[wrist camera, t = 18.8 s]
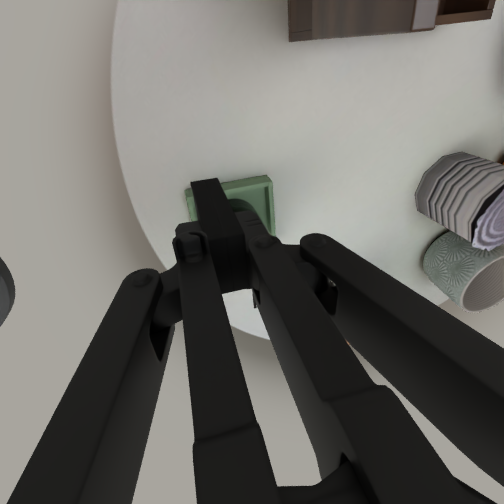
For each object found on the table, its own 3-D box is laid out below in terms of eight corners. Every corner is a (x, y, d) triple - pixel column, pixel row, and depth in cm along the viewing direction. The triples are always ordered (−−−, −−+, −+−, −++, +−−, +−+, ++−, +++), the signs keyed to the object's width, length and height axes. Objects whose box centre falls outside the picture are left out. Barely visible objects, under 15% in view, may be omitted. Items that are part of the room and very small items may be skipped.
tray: (200, 259, 46) (202, 269, 44) (184, 190, 40) (186, 197, 38) (271, 243, 48) (276, 252, 46) (266, 174, 41) (272, 181, 39)
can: (475, 137, 47) (559, 158, 37) (475, 196, 54) (546, 227, 44) (409, 174, 48) (475, 205, 38) (417, 228, 54) (475, 266, 44)
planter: (408, 281, 61) (451, 320, 52) (424, 228, 54) (476, 261, 46) (460, 269, 64) (509, 304, 55) (481, 216, 57) (542, 246, 48)
